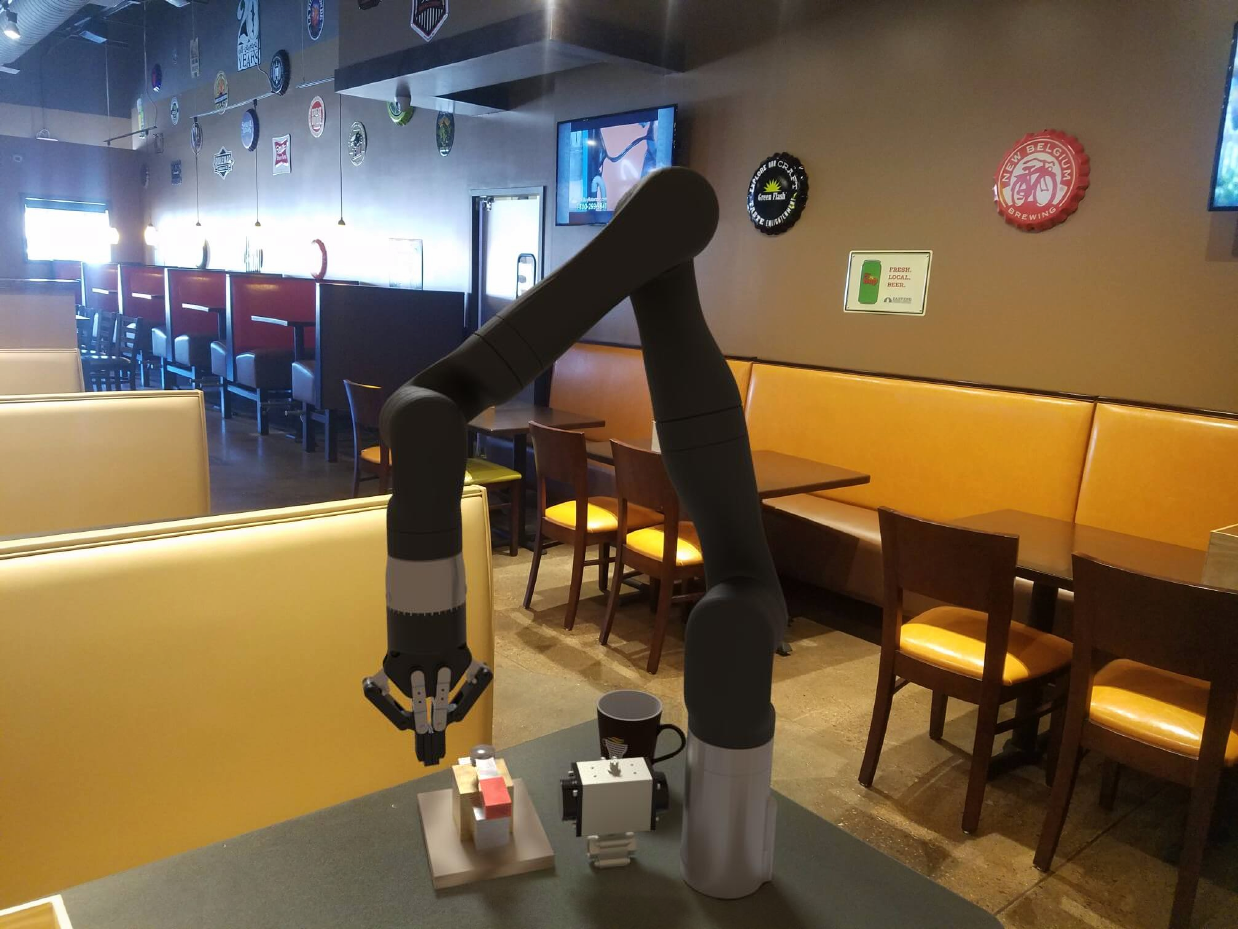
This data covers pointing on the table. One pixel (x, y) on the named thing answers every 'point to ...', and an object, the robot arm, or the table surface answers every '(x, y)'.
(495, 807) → the lever
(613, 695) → the coffee mug
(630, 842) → the pneumatic valve
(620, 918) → the table surface
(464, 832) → the valve
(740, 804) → the robot arm
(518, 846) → the mounting board
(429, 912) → the table surface
